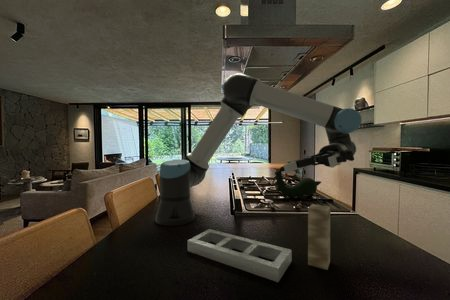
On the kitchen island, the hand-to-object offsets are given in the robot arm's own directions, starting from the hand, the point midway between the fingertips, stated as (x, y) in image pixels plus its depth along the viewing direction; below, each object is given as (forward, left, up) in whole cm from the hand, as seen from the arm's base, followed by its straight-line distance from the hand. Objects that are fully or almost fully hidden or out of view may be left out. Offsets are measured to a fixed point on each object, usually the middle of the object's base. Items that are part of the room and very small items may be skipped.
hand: (306, 166), depth 62 cm
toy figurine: (-17, +60, -24) cm, 66 cm away
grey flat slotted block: (-14, -14, -23) cm, 31 cm away
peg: (+5, -6, -23) cm, 25 cm away
